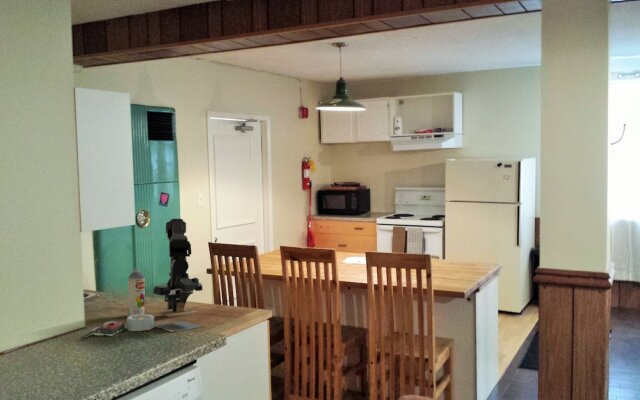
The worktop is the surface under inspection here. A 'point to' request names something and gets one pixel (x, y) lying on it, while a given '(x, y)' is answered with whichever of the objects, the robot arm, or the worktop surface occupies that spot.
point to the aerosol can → (136, 293)
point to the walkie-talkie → (107, 328)
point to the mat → (178, 326)
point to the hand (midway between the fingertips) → (178, 310)
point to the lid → (178, 311)
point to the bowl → (140, 322)
